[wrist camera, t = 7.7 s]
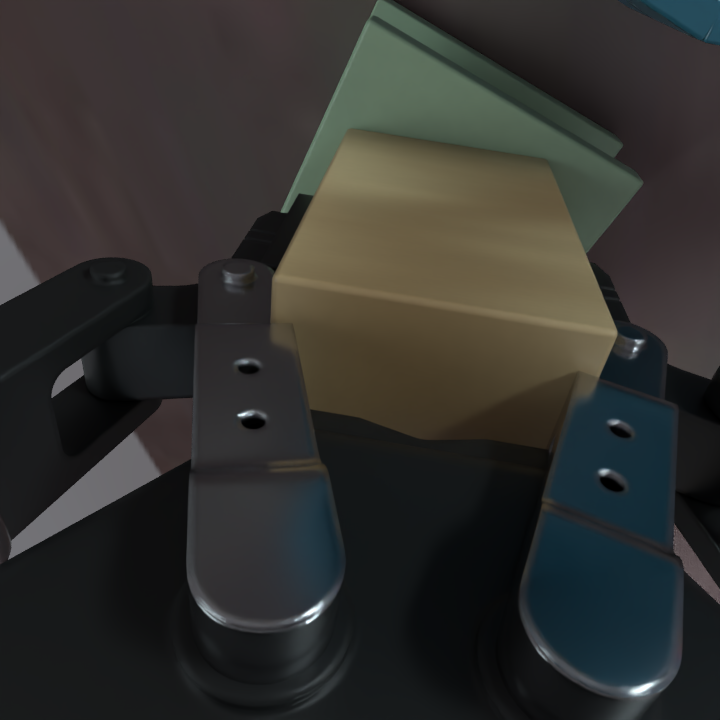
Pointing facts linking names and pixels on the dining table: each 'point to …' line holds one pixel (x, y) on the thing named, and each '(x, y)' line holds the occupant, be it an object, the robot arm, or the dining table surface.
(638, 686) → the robot arm
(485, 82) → the stand
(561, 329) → the block
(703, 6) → the tin
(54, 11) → the dining table surface
